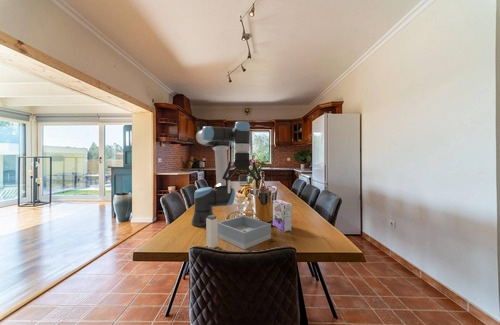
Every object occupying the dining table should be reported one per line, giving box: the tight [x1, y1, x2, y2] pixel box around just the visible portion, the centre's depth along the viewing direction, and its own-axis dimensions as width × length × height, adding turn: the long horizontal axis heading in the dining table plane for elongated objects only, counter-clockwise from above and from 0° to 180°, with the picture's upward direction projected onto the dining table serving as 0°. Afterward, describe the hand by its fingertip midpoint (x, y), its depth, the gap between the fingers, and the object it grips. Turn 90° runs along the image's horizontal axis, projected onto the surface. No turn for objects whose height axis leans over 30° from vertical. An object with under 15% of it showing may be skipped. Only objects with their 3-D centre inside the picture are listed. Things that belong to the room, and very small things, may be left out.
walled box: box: [218, 215, 272, 250], centre depth 118 cm, size 22×20×8 cm
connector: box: [205, 214, 219, 249], centre depth 107 cm, size 4×4×15 cm
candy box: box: [272, 199, 293, 233], centre depth 134 cm, size 14×6×16 cm, turn 23°
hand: (241, 193), depth 111 cm, fingers open, 13 cm apart
